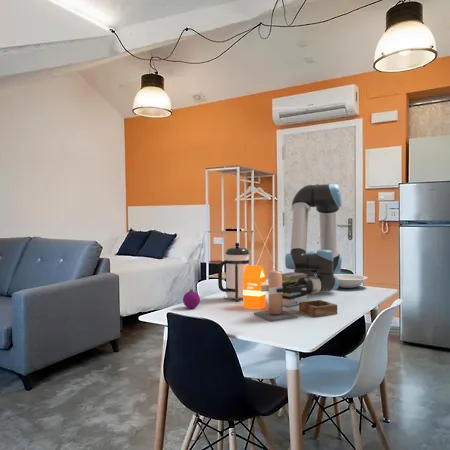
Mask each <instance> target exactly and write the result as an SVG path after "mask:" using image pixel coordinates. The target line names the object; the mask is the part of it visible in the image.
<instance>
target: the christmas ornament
mask: <svg viewBox="0 0 450 450" xmlns="http://www.w3.org/2000/svg"><path fill="white" fill-rule="evenodd" d="M182 302H183V305H185V306H184V307H186V308H188V309H195V308H196V307H198V306H199V305H200V303H201V296H200V294H199V293H198V292H196V291H194V288H193V287H190V289H189V291H187V292H186V293H185V294H184V295H183V297H182Z"/></svg>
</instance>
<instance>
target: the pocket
mask: <svg viewBox="0 0 450 450" xmlns="http://www.w3.org/2000/svg"><path fill="white" fill-rule="evenodd" d="M298 312H301V313H303V314H305V315H308V316H312V317H314V318H318V317H319V318H320V317H327V316H332V315H338V304H335V303H332V302H328V301H325V300H321V299H317V300H316V299H315V300H310V301H309V300H307V302H300V303H299V304H298Z"/></svg>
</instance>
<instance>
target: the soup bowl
mask: <svg viewBox="0 0 450 450" xmlns="http://www.w3.org/2000/svg"><path fill="white" fill-rule="evenodd" d="M334 275H335V276H337V278H338V281H339V286H338V288H344V289H352V288H353V289H354V288H357V287H360V286H361V285H362V284H363V283H364V282H365V281H366V280H367V279H368V276H365V275H362V274H355V273H354V274H353V273H352V274H351V273H338V274H334Z"/></svg>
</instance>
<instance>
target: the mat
mask: <svg viewBox="0 0 450 450" xmlns="http://www.w3.org/2000/svg"><path fill="white" fill-rule="evenodd" d="M253 315H254V316H257V317H260V318H262V319H264V320H266V321H269V322H276V321H277V322H279V321H282V320H283V321H284V320H291V319H297V318H299V315H298V314H295V313H292V312H289V311H286V310H284V309H282V314H270V313H269V310H264V311H263V310H262V311H254V312H253Z"/></svg>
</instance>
